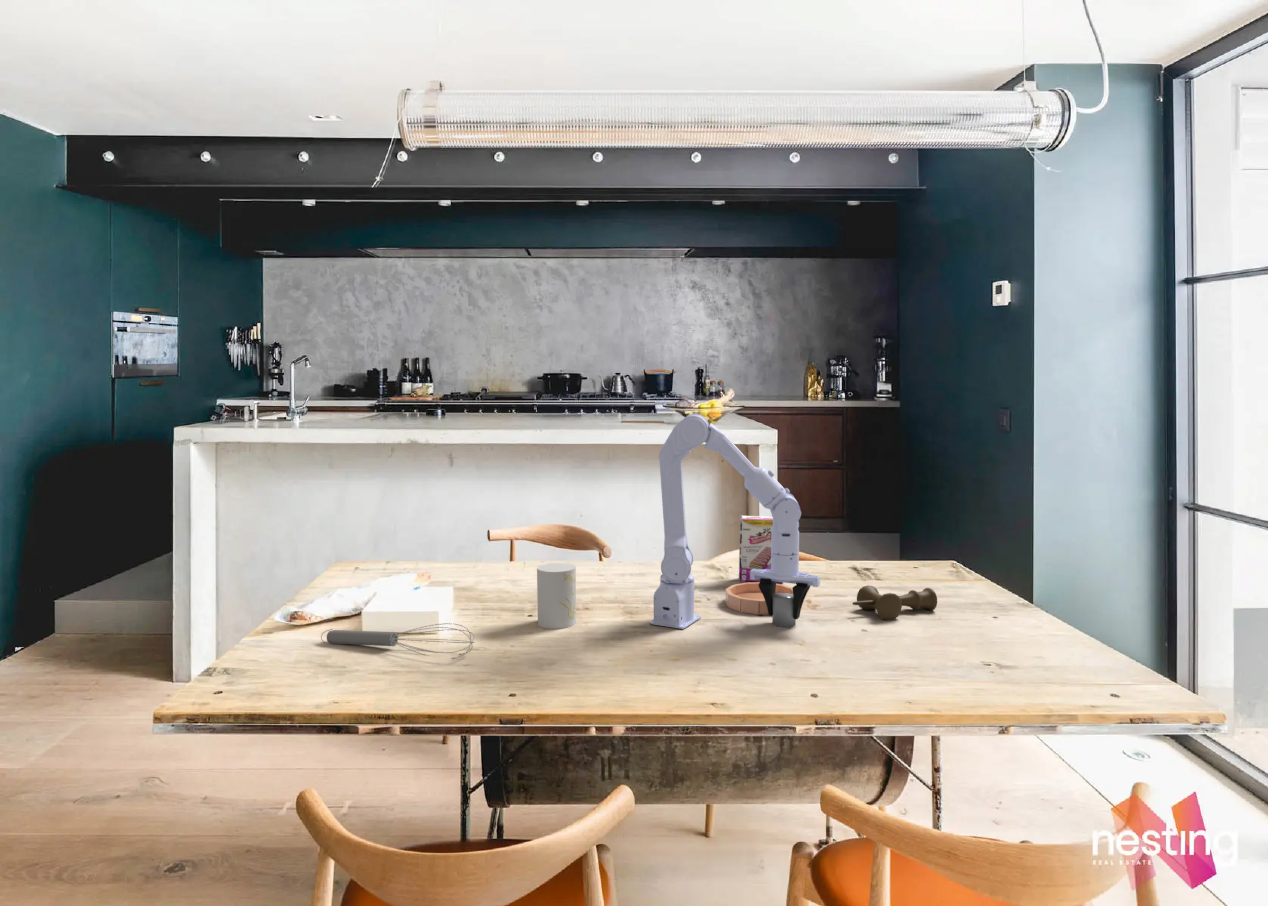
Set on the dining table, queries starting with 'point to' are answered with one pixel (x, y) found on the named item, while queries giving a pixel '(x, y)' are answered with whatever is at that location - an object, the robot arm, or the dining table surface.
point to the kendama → (894, 601)
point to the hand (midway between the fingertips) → (784, 616)
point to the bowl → (750, 597)
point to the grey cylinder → (783, 610)
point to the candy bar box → (754, 545)
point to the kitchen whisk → (383, 638)
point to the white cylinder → (556, 595)
